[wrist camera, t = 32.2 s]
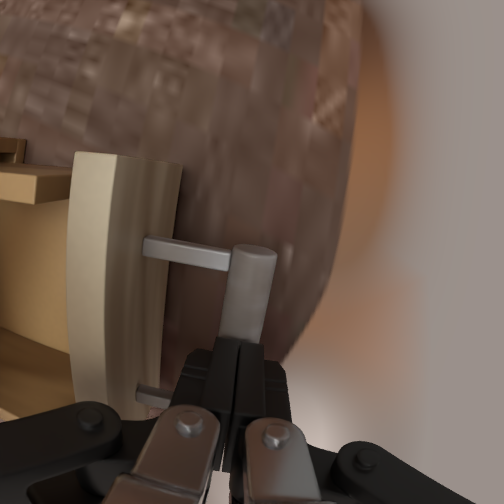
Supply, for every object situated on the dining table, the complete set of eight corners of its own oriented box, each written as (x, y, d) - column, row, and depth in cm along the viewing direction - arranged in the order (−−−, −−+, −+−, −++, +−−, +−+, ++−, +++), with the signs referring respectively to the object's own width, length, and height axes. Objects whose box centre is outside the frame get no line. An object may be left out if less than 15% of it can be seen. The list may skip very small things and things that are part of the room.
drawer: (282, 181, 13) (306, 184, 7) (237, 404, 16) (228, 508, 9) (-24, 148, 13) (-110, 150, 6) (-20, 324, 15) (-85, 369, 9)
